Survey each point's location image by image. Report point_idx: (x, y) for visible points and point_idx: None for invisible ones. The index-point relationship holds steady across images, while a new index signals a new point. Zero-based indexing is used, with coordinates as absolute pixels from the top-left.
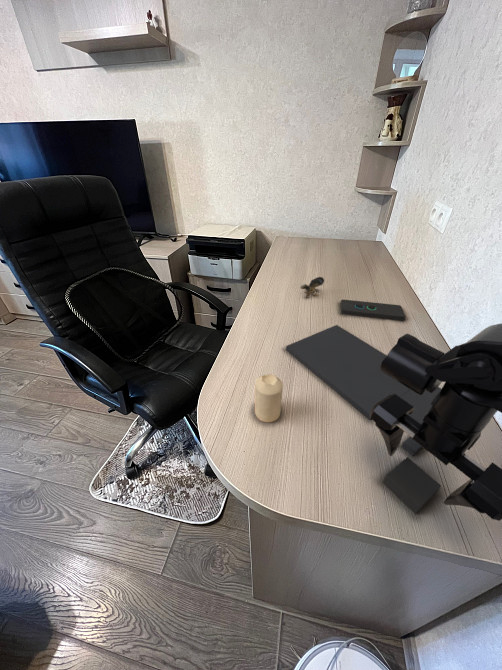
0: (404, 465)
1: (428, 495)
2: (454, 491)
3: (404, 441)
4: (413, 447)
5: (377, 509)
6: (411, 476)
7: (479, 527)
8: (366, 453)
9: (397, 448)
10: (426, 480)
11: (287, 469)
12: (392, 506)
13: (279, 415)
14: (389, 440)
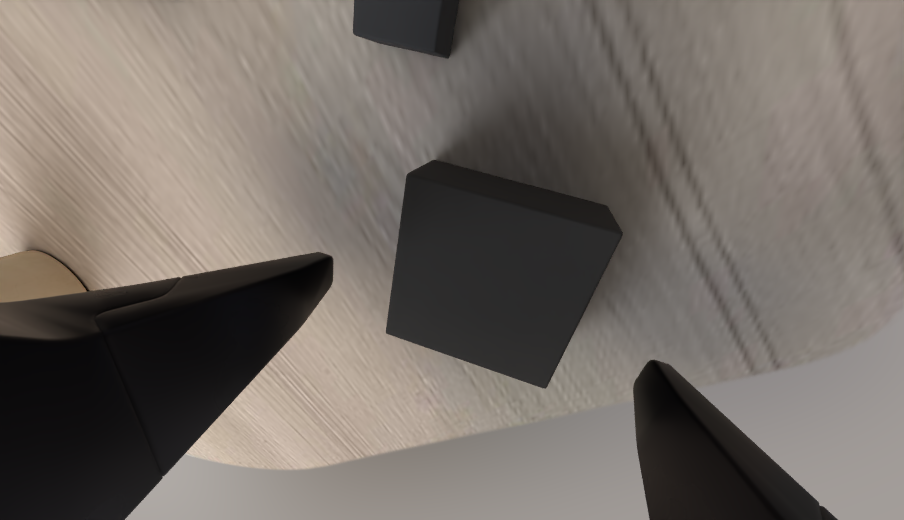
0: (418, 240)
1: (564, 329)
2: (698, 466)
3: (354, 25)
4: (413, 25)
5: (441, 383)
6: (467, 280)
7: (841, 243)
8: (306, 219)
9: (303, 269)
10: (538, 254)
11: None
12: None
13: (74, 280)
14: (134, 506)
